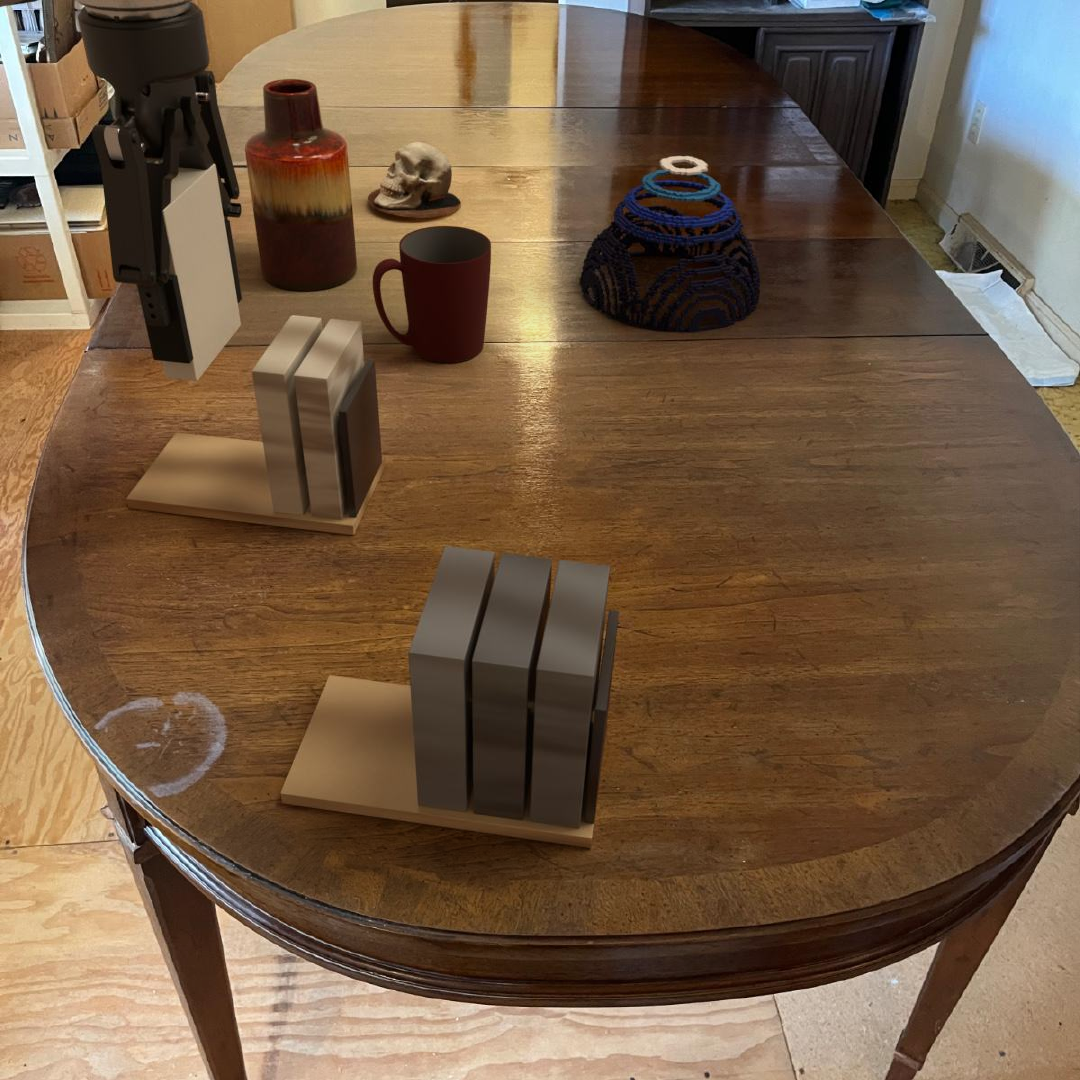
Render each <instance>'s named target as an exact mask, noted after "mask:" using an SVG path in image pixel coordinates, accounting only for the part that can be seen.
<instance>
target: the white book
mask: <svg viewBox="0 0 1080 1080" xmlns="http://www.w3.org/2000/svg"><path fill="white" fill-rule="evenodd" d="M163 217H164V222H165V227H166V232H167V237H168V242H169V247H170V268H169V275H177V277H178V282H179V287H180V292H181V297H182V303H183V308H184V313H185V318H186V323H187V328H188V333H189V338H190V343H191V348H192V353H193V360H192V361H191V362H190V364H187V363H178V362H168V361H161V364H162V369H163V374H164V378H165V379H173V380H182V381H191V382H198V381H199V380H200V378H201V377H202V375H203V374H204V373H205V372H206V371H207V369H208V368H209V366H210V365H211V364H212V363H213V362H214V360H215V359H216V358H217V356H218V355H219V354H220V353H221V352H222V350H224V348H225V346H226V345H227V343H228V342H229V341H230V340H231V339H232V337H233V336H234V335H235V334H236V332H237V331H238V330H239V328H240V327H241V326H242V321H241V315H240V309H239V303H238V302H237V296H236V290H235V284H234V277H233V271H232V265H231V259H230V252H229V246H228V240H227V234H226V227H225V221H224V215H223V209H222V203H221V196H220V190H219V184H218V178H217V171H216V165H215V164H213V165H212V166H211V167H210V168H209V169H208V170H202V169H191V168H180V167H179V172H178V175H177V177H175V178H174V179H172V181H171V203H170V204H169V205H168V206H167V207H166V208H165V209H164V210H163Z"/></svg>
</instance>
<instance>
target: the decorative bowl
mask: <svg viewBox="0 0 1080 1080" xmlns="http://www.w3.org/2000/svg"><path fill="white" fill-rule="evenodd" d="M658 163H659V167H661V168H662V169H657V170H655V171H654V172H651V173H648V174H645V175H644V176H643V177H642V178H641V185H638V186H636V187H634V188H631V189H630V190H629V191H628V192H627V193H626V194H625V195H624V198H623V200H620V202H618V203H617V206H616V207H615V209H614V211H613V214H612V215H613V221H610V224H609V226H608V227H606V228H604V229H603V230H602V232H600V233H599V234H596V237H595V238H593V241H592V243H591V244H590V245H591V246H590V247H589V248H587V249H588V250H587V251H586V255H585V258H584V259H583V266H582V270H581V272H580V273H581V275H580V277H579V285H580V289H581V293H582V298H584V299H585V301H587V303H588V304H589V305H590V306H591V307H594V308H595V310H597V311H600V313H602V314H605V315H606V316H607V317H608V318H611V319H614V320H615V321H619V322H620V323H625V324H629V326H636V327H639V328H640V329H642V328H645V329H649V330H653V331H655V330H657V331H661V332H665V331H666V332H673V331H674V332H680V333H685V332H687V333H694V332H699V331H700V332H701V331H706V330H707V331H708V330H713V329H720V328H727V327H729V326H731V325H734V324H735V323H736V322H741V321H743V320H745V319H746V318H747V317H749V316H750V315H751V313H752V312H755V310H756V309H757V305H758V304H759V300H760V294H761V289H760V287H761V286H760V285H761V283H760V282H761V278H760V271H759V269H760V268H759V266H758V262H757V257H756V256H755V254H754V253H755V252H754V249H753V248H752V246H753V244H752V243H751V242H750V241H749V239H748V238H747V235H745V234H744V232H743V230H742V228H744V227H745V225H744V224H743V223H742V219H741V217H740V215H739V212H738V211H736V209H735V206H734V202H733V201H732V200H731V199H730V198H729V197H728V196H727V195H725V194H724V193H723V192H722V189H721V188H722V185H721V184H720V183H719V182H718V181H716V180H715V179H714V178H713V177H712V176H710V175H708V174H706V173H705V172H708V171H709V168H708V167H709V164H708V163H707V162H706V161H704V160H702V159H699V158H698V157H694V156H691V155H690V156H689V155H685V156H682V155H676V156H675V155H674V156H667V157H664V158H661V159H660V160H659V162H658ZM674 163H675V164H676V163H686V164H687V163H689V164H690V165H694V166H692V167H691V168H685V167H682V168H681V167H680V168H679V167H676V166H674V165H673V164H674ZM703 172H704V173H703ZM666 175H681V176H693V177H694V178H700V179H702V180H705V181H707V184H708V185H706V184H702V183H699V182H692V181H686V180H683V181H682V180H671V179H665V180H656V178H658V177H659V176H666ZM664 187H666V188H670V187H671V188H672V187H676V188H680V187H681V188H685V189H693V190H697V191H692V192H691V191H688V190H682V191H677V190H675V189H674V190H670V189H665V188H664ZM642 191H645V192H644V193H639V192H642ZM652 198H661V199H667V200H671V201H675V202H676V201H680V202H695V203H696V202H702V203H708V204H712V205H713V207H714V206H716V209H719V210H717V211H713V212H710V213H709V214H704V215H703V216H704V217H703V218H701V217H700V216H696V215H693V216H688V215H684V214H683V212H679V210H677V209H676V208H671V207H670V206H667V205H666V204H665V205H659V204H658V205H657V204H656V205H648V206H643V205H642V204H639V203H638V201H642V200H643V199H644V200H645V199H652ZM624 208H625V209H627V211H625V213H624ZM645 222H648V223H645ZM669 227H671V228H669ZM715 227H716V230H714V229H715ZM681 228H683V229H684V232H685V233H686V235H684V234H683V233H682V232H683V231H682V230H681ZM698 228H701V230H700V231H699V233H698V235H697V233H696V232H695V229H698ZM647 229H648V230H647ZM663 229H664V230H663ZM672 229H673V230H674V231H673V230H672ZM664 231H666V232H664ZM674 233H675V234H674ZM621 237H622V238H621ZM734 241H737V242H741V244H739V245H738V246H734V247H733V248H732V249H731V250H730V251H729V252H728V254H727V253H725V252H726V251H727V248H729V247H730V246H731V245H732V244H733V243H734ZM718 243H719V244H720V243H721V244H720V245H719V248H716V249H715V247H716V245H717V244H718ZM633 244H639V245H640V246H641V247H642V248H643V249H644V250H637V251H629V249H630V248H631V247H632V246H633ZM706 244H708V246H707V249H706V251H705V252H703V250H704V247H705V245H706ZM660 245H662V248H660ZM686 247H687V248H686ZM661 249H662V250H661ZM689 249H690V250H689ZM715 250H716V252H715ZM739 252H740V253H741V254H742V255H740V256H739V257H738V258H736V257H735V255H737V254H739ZM659 254H660V255H663V256H667V255H670V256H675V255H677V256H678V257H685V258H681V259H678V260H677V261H676V262H675V265H672V266H671V267H666V268H665V270H663V272H662V273H658V275H657V276H655V281H653V282H652V283H650V286H648V287H647V290H648V291H645V293H644V296H642V298H640V295H639V292H640V289H638V288H639V284H638V280H637V279H638V278H637V274H636V270H635V267H634V263H633V261H632V257H636V256H642V255H645V256H651V255H659ZM687 258H688V259H687ZM618 260H619V261H618ZM691 263H694V264H701V263H713V264H714V265H715V266H710V267H709V266H708V267H704V268H703V267H701V268H694V269H693V268H685V270H684V267H686V266H688V264H691ZM601 266H604V267H605V268H606V271H607V272H606V273H607V275H608V276H609V279H610V283H611V287H612V288H611V290H610V287H609V283H608V280H607V279H606V278H607V277H606V273H605V272H604V270H602V268H601ZM683 270H684V271H683ZM595 271H597V272H598V273H599V275H598V274H597V273H596V272H595ZM623 271H624V272H623ZM673 273H676V274H677V275H675V279H676V280H675V281H673V283H669V284H668V286H666V287H664V284H665V285H666V284H667V282H669V280H670V279H671V278H672V275H673ZM720 273H722V275H724V276H721V277H715V278H711V279H708V280H704V279H700V280H693V276H697V277H700V276H707V275H716V274H720ZM725 277H726V278H725ZM727 277H728V278H727ZM600 278H601V279H600ZM730 279H732V280H733V281H734V282H735V283H736V284H737V285H740V286H739V290H740V291H743V295H744V300H743V295H741V294H740V293H739V292H738V290H737V289H735V288H734V285H733V283H732V281H730ZM688 280H691V281H689V283H687V284H686V286H684V290H683V291H682V292H681V293H680V295H678V296H677V298H675V300H673V301H672V303H670V304H668V305H665V304H666V302H668V298H669V297H671V294H675V293H676V289H679V288H681V286H683V285H684V283H686V281H688ZM692 280H693V281H692ZM617 287H618V288H617ZM662 287H663V288H662ZM589 289H590V290H591V293H592V296H593V298H592V297H591V295H590V291H589ZM661 289H662V290H661ZM658 290H660V292H659V291H658ZM710 290H713V291H714V292H715V293H708V294H706V292H707V291H710ZM611 291H612V295H613V299H614V302H613V311H614V313H613V312H612V308H611V307H612V302H611V298H610V293H611ZM719 291H724V292H725V294H727V296H725V295H724V294H720V292H719ZM604 292H605V293H604ZM658 294H660V296H659V297H658V298H657V299H658V300H657V301H655V303H651V304H650V300H654V298H655V297H656V295H658ZM697 294H701V295H698V296H697V297H696V298H695V300H692V298H693V297H695V295H697ZM728 295H730V296H731V297H732V298H733V299H734V300H735V302H733V300H731V299H730V298H729V297H728ZM605 300H606V301H605ZM688 300H691V301H690V303H688V302H687V301H688ZM713 300H717V301H718V302H722V303H723V305H727V309H728V312H729V313H730V314H729V315H728V314H727V310H725V308H724V307H723V308H721V307H720V306H714V307H706V308H699V309H698V311H696V313H695V314H693V316H691V317H690V323H688V324H687V327H686V326H683V325H684V324H683V323H684V318H686V317H687V315H689V314H690V313H689V312H690V310H694V308H695V307H697V305H699V303H700V302H706V301H713ZM618 302H619V304H618ZM620 302H621V303H620ZM605 303H606V307H605ZM685 303H688V305H687V306H685V308H683V309H682V311H680V315H678V316H677V311H679V310H680V308H682V306H683V305H685ZM744 303H745V304H744ZM638 305H640V309H639V310H638ZM665 306H666V309H667V311H666V312H663V314H661V315H660V319H658V320H657V317H658V316H657V314H660V310H661V309H663V307H665ZM650 307H652V310H649V309H650ZM628 309H629V314H628V315H627V312H628ZM635 314H636V315H635ZM647 314H649V319H646V320H645V317H647ZM737 314H738V315H737ZM712 316H713V317H714V318H715V320H717V323H716V322H715V323H714V324H711V325H704V326H699V325H701V324H702V322H704V320H705V319H706V318H707V317H712ZM676 317H677V318H676ZM728 317H729V318H728ZM674 318H676V319H674ZM644 320H645V323H644ZM673 323H674V326H672V327H671V325H673ZM656 324H657V325H656Z"/></svg>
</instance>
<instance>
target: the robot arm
mask: <svg viewBox="0 0 1080 1080" xmlns="http://www.w3.org/2000/svg"><path fill="white" fill-rule="evenodd" d="M37 1H39V0H0V8H2V7H3V8H4V7H9V6H15V5H23V4H28V3H35V2H37ZM75 1H76V2H77V3H78V4H80V5H81V6H83V7H82V8H81V9H80V12H79V14H78V15H77V20H78V25H79V30H80V35H81V39H82V44H83V47H84V53H85V57H86V61H87V66H88V68H89V70H90V71H91V72H92V73H93V74H94V75H95V76H96V77H98V78H100V79H102V80H105V81H106V82H107V83H108V84H110V86H111V87H112V88H113V91H114V92H113V93H114V117H115V120H114V121H113V122H112V123H111V124H110V125H106V124H94V125H93V127H92V131H91V132H92V133H91V134H92V140H93V144H94V147H95V151H96V154H97V157H98V160H99V163H100V170H101V179H102V180H101V181H102V187H103V198H104V207H105V215H106V224H107V232H108V242H109V250H110V261H111V269H112V276H113V280H114V281H115V283H120V284H130V285H136V287H137V291H138V296H139V301H140V305H141V310H142V314H143V318H144V323H145V327H146V332H147V336H148V340H149V345H150V346H149V347H150V350H151V355H152V359H153V361H161V362H162V361H168V362H178V363H187V364H190V362H191V361H192V360H193V353H192V348H191V343H190V338H189V333H188V328H187V323H186V318H185V313H184V308H183V303H182V297H181V292H180V287H179V282H178V277H177V275H169V268H170V247H169V242H168V237H167V232H166V227H165V222H164V217H163V210H164V209H165V208H166V207H167V206H168V205H169V204H170V203H171V181H172V179H174V178H175V177H177V175H178V172H179V167H180V168H191V169H202V170H208V169H209V168H210V167H211V166H212V165H213V164H215V165H216V171H217V178H218V184H219V190H220V196H221V203H222V209H223V215H224V221H225V227H226V234H227V240H228V246H229V252H230V259H231V265H232V271H233V277H234V284H235V290H236V296H237V302H238V304H239V303H240V302H241V301H242V300H243V296H242V290H241V284H240V277H239V270H238V264H237V257H236V251H235V246H234V238H233V232H232V226H231V225H232V224H231V221H230V220H229V218H238V219H239V218H241V216H242V211H243V210H242V209H243V207H242V203H241V202H232V200H236V201H237V200H238V199H239V197H240V193H241V191H240V185H239V182H238V179H237V178H238V177H237V174H236V170H235V167H234V163H233V162H234V161H233V159H232V155H231V151H230V147H229V142H228V139H227V135H226V132H225V129H224V128H225V127H224V124H223V120H222V117H221V112H220V108H219V104H218V96H217V88H216V79H215V73H214V72H213V70H207V69H208V67H209V64H210V60H211V58H210V51H209V45H208V39H207V31H206V26H205V20H204V14H203V13H204V12H203V11H202V9H200V8H199V6H198V5H197V4H196V3H195V2H192V1H193V0H75ZM146 161H153V162H146ZM154 161H155V162H161V163H155V162H154Z"/></svg>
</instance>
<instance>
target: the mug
mask: <svg viewBox="0 0 1080 1080" xmlns="http://www.w3.org/2000/svg"><path fill="white" fill-rule="evenodd" d="M398 245H399V246H398V251H399V260H398V259H395V258H386V259H382V260H380V262H378V263H377V265H376V266H375V268H374V270H373V273H372V293H373V299H374V303H375V305H376V310H377V312H378V315H379V317H380V320H381V321H382V323H383V325H384V326H385V328H386V329H387V331H388V332H389V333H390V334H391V335H392V336H393V337H394V338H395V339H396V340H397V341H398V342H400V343H401V344H403V345H406V346H409V347H411V348H412V351H413V352H414V353H415V354H416V355H417V356H419V357H420V358H423V359H424V360H426V361H427V360H428V361H431V362H436V363H445V364H448V363H449V364H451V363H461V362H465V361H468V360H471V359H473V358H475V357H477V356H478V355H479V354H481V352H482V351H483V349H484V345H485V335H486V324H487V315H488V305H489V293H490V292H489V290H490V279H491V278H490V277H491V267H492V266H491V263H492V242H491V241H490V239H489V238H488V237H487V236H486V235H485V234H483V233H482V232H480V231H477V230H475V229H472V228H468V227H464V226H458V225H457V226H456V225H434V226H428V227H427V226H426V227H422V228H418V229H415V230H412V231H410V232H408V233H406V234H405V235H404V236H403V237H401V239H400V241H399V242H398ZM392 270H393V271H395V270H397V271H399V272H401V279H402V287H403V288H402V289H403V293H404V294H403V295H404V301H405V309H406V315H407V322H408V323H407V330H406V332H405V333H400V332H399V331H398V330H396V328H394V326H393V324H392V323H391V321H390V320H389V317H388V315H387V314H386V313H387V312H386V310H385V307H384V302H383V297H382V291H381V283H382V282H381V281H382V279H383V276H384V275H385V274H386V273H388V272H389V271H392Z"/></svg>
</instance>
